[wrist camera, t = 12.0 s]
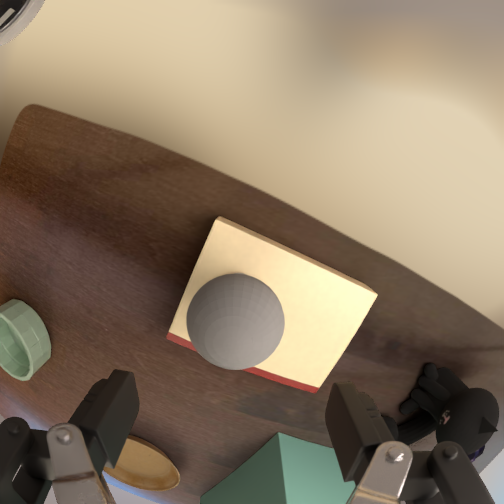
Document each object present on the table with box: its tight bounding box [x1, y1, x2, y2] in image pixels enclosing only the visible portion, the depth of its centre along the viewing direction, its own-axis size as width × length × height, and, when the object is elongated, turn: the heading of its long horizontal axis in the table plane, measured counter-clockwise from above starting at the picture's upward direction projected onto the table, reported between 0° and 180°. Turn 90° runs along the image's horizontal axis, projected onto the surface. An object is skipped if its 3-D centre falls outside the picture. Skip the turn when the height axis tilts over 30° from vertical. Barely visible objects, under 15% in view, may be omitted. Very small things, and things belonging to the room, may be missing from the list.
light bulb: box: [186, 273, 285, 370], centre depth 19 cm, size 6×6×10 cm
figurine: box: [383, 363, 499, 455], centre depth 24 cm, size 16×14×15 cm
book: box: [166, 216, 378, 393], centre depth 27 cm, size 16×12×3 cm
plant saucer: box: [103, 435, 180, 491], centre depth 32 cm, size 15×15×3 cm
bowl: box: [0, 299, 51, 381], centre depth 26 cm, size 10×10×5 cm
